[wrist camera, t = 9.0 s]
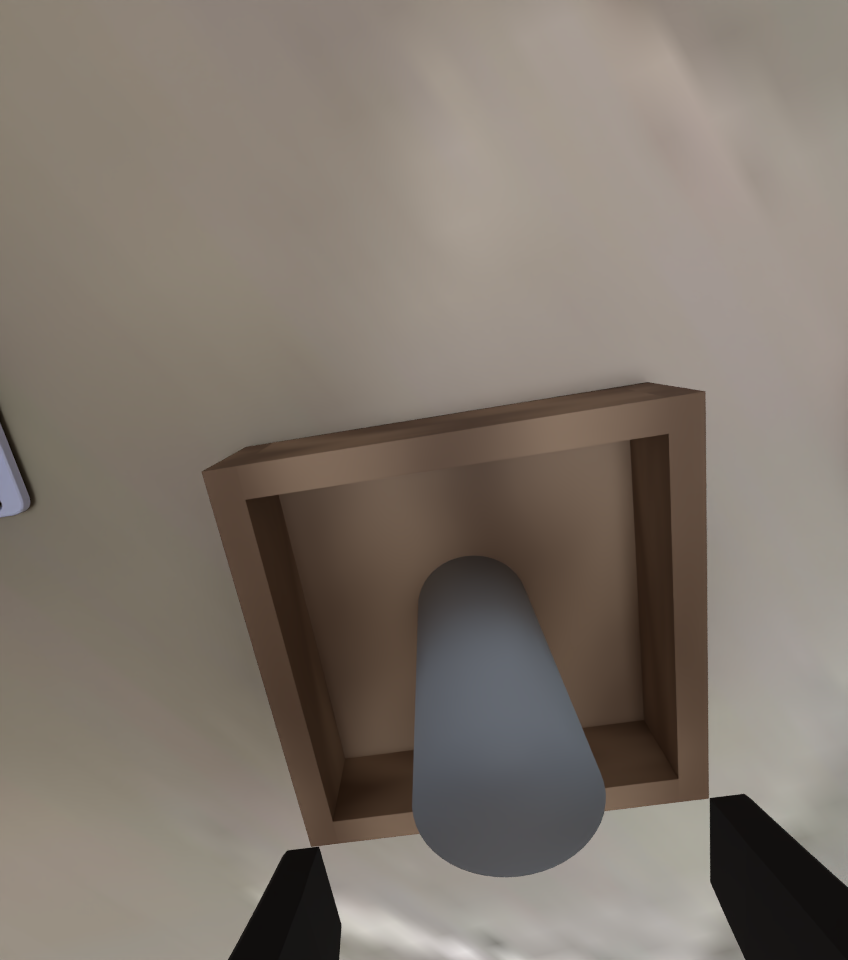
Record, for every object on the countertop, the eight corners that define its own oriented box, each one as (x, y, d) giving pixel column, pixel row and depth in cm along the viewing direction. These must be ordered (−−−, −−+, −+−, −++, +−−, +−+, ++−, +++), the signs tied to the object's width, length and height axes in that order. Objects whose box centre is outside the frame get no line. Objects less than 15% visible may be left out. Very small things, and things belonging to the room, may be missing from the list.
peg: (427, 660, 18) (429, 887, 11) (409, 564, 17) (396, 738, 10) (532, 645, 18) (611, 865, 10) (521, 547, 17) (598, 711, 9)
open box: (329, 765, 21) (311, 846, 17) (246, 446, 17) (201, 471, 14) (660, 722, 20) (708, 798, 17) (647, 382, 16) (705, 391, 13)
